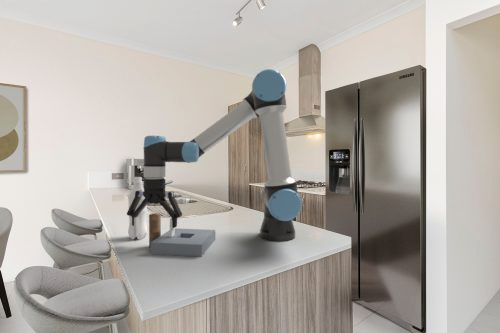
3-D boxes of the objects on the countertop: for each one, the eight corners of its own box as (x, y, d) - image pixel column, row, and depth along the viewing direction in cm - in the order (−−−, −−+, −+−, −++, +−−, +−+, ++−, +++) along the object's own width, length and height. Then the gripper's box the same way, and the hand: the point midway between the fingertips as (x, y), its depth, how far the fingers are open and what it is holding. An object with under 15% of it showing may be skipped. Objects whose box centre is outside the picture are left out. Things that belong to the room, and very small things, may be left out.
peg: (162, 245, 95) (162, 213, 95) (157, 248, 91) (157, 215, 91) (152, 244, 95) (152, 213, 95) (147, 248, 92) (146, 215, 91)
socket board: (215, 239, 102) (215, 229, 102) (201, 256, 84) (201, 244, 84) (172, 237, 104) (172, 228, 104) (150, 253, 86) (150, 242, 86)
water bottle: (140, 241, 99) (140, 178, 99) (124, 240, 101) (123, 177, 100) (150, 235, 106) (150, 176, 106) (135, 234, 108) (135, 176, 107)
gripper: (191, 178, 95) (190, 233, 95) (128, 176, 98) (128, 230, 98) (183, 179, 87) (183, 240, 88) (116, 178, 90) (116, 236, 91)
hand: (154, 235), depth 93 cm, fingers open, 13 cm apart
